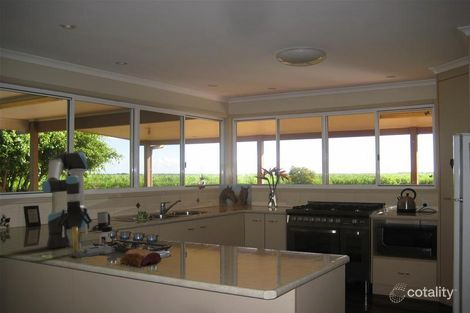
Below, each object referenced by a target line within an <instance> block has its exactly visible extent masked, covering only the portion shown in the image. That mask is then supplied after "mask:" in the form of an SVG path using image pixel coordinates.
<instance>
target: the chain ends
mask: <svg viewBox="0 0 470 313" xmlns="http://www.w3.org/2000/svg"><path fill="white" fill-rule="evenodd" d="M115 253H116V248H115V247H114V246H112V247H111V246H108V245H102V246H100V245H97V246H87V247H83V250H82V251H80V250H79V252H77V251H72V256H73V257H74V258H76V259H79V258H80V259H81V258H85V257H86V256H87V257H92V256H101V255H106V254H107V255H108V254H115ZM100 254H101V255H100Z"/></svg>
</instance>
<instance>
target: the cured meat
mask: <svg viewBox="0 0 470 313" xmlns="http://www.w3.org/2000/svg"><path fill="white" fill-rule="evenodd" d="M161 261H162V257H161V253H160V252H156V251H152V250H148V249H140V248H139V249H138V248H134V249H130V250H127V251H126V252H125V253H124V254H123V255H122V256H121V258H120V263H121V264H124V265H129V266H133V267H139V268H142V267H145V265H148V264H151V265H155V264H158V263H160V262H161Z"/></svg>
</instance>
